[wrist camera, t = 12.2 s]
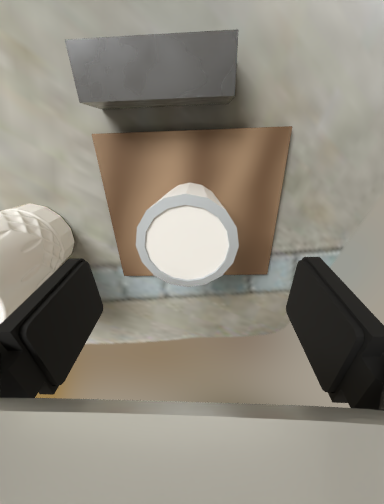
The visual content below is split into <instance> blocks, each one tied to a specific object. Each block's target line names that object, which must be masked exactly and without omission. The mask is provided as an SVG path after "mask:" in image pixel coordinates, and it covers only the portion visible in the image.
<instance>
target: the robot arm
mask: <svg viewBox="0 0 384 504" xmlns="http://www.w3.org/2000/svg"><path fill="white" fill-rule="evenodd" d="M102 311H103V304H102V301H101V298H100V295H99V292H98V289H97V286H96V283H95V280H94V277H93V274H92V271H91V268H90V265H89V263H88V262H86V261H85V260H84V259H68V260H67V261H66V262H65V263H64V264H63V265H62V266H61V267H59V268H58V269H57V270H56V271H55V272H54V273H53V274H52V275H51V276H50V277H49V278H48V279H47V280H46V281H45V282H44V283H43V284H42V285H41V286H40V287H39V288H38V289H37V290H35V291H34V292H33V293H32V294H31V295H30V296H29V297H28V298H27V299H26V300H25V301H24V302H23V303H22V304H21V305H20V306H19V307H18V308H17V309H16V310H15V311H14V312H13V313H11V314H10V315H9V316H8V317H7V318H6V319H5V320H4V321H3V322H2V323H1V324H0V504H384V325H383V324H382V323H381V322H380V321H379V320H378V319H377V318H376V317H375V316H374V315H373V314H372V313H371V312H370V311H369V309H368V308H367V307H366V306H365V305H364V304H363V303H362V302H361V301H360V300H359V299H358V298H357V297H356V295H355V294H354V293H353V292H352V291H351V290H350V289H349V288H348V287H347V286H346V285H345V284H344V283H343V282H342V280H340V278H339V277H338V276H337V275H336V274H335V273H334V272H333V271H332V270H331V269H330V268H329V267H328V266H327V264H326V263H325V262H324V261H323V260H322V259H321V258H320V257H304V258H303V259H302V260H300V261H299V262H298V264H297V267H296V271H295V275H294V279H293V283H292V286H291V290H290V294H289V298H288V301H287V305H286V311H287V315H288V317H289V319H290V321H291V323H292V325H293V328H294V330H295V332H296V334H297V336H298V338H299V340H300V343H301V345H302V347H303V349H304V351H305V353H306V355H307V358H308V360H309V362H310V364H311V366H312V368H313V370H314V373H315V375H316V377H317V379H318V381H319V383H320V385H321V387H322V389H323V390H324V391H325V392H328V393H329V396H330V398H331V400H332V402H337V403H349V405H350V407H351V408H338V407H318V406H295V405H266V404H236V403H235V404H234V403H206V402H205V403H204V402H171V401H138V400H136V401H135V400H98V399H56V398H35V396H36V395H37V393H38V392H39V394H54V393H55V391H56V390H57V388H58V386H59V385H61V384H62V383H63V382H64V381H65V379H66V378H67V376H68V374H69V372H70V370H71V368H72V366H73V365H74V363H75V361H76V359H77V357H78V356H79V354H80V352H81V350H82V348H83V347H84V345H85V343H86V341H87V339H88V337H89V336H90V334H91V332H92V330H93V328H94V327H95V325H96V323H97V321H98V319H99V317H100V316H101V314H102Z"/></svg>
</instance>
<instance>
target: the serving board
mask: <svg viewBox="0 0 384 504" xmlns="http://www.w3.org/2000/svg"><path fill="white" fill-rule="evenodd" d="M291 131H292V126H289V127H263V128H237V129H211V130H185V131H159V132H133V133H107V134H92V138H93V142H94V146H95V151H96V155H97V159H98V164H99V168H100V172H101V177H102V181H103V186H104V190H105V194H106V199H107V203H108V207H109V212H110V216H111V220H112V225H113V229H114V234H115V238H116V242H117V247H118V251H119V255H120V260H121V264H122V268H123V273H124V276H151V275H153V274H152V273H151V272H150V270H149V269H148V268H147V267H146V266H145V265H144V264H143V263H142V261H141V258H140V255H139V253H138V250H137V248H136V234H137V226H138V225H139V223H140V221H141V219H142V217H143V216H144V214H145V212H146V210H148V209H149V208H150V207H151V206H152V205H154V204H155V203H156V202H157V201H158V200H160V199H161V198H162V197H163V196H164V195H166V194H167V193H168V192H169V191H171V190H172V189H173V188H175V187H176V186H178V185H181V184H186V183H195V184H200V185H203V186H204V187H206V188H207V189H209V190H210V191H212V192H213V194H214V195H215V196H216V198H217V199H218V200H219V202H220V203H221V204H222V205H223V207H224V208H225V209H226V211H227V213H228V214H229V216H230V217H231V219H232V221H233V222H234V224H235V225H236V227H237V234H238V243H239V247H238V250H237V253H236V256H235V259H234V262H233V264H232V265H231V266H230V267H229V268H228V269H227V271H226V272H225V273H224V274H223V275H251V274H267V272H268V266H269V260H270V254H271V248H272V243H273V237H274V231H275V225H276V219H277V213H278V207H279V201H280V196H281V190H282V184H283V178H284V172H285V166H286V160H287V154H288V149H289V143H290V137H291Z"/></svg>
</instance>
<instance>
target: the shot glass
mask: <svg viewBox="0 0 384 504" xmlns="http://www.w3.org/2000/svg"><path fill="white" fill-rule="evenodd" d="M238 247H239V243H238V234H237V227H236V225H235V224H234V222H233V221H232V219H231V217H230V216H229V214H228V213H227V211H226V209H225V208H224V207H223V205H222V204H221V203H220V202H219V200H218V199H217V198H216V196H215V195H214V194H213V192H212V191H210V190H209V189H207V188H206V187H204V186H203V185H200V184H195V183H186V184H181V185H178V186H176V187H175V188H173V189H172V190H171V191H169V192H168V193H167V194H166V195H164V196H163V197H162V198H161V199H160V200H158V201H157V202H156V203H155V204H154V205H152V206H151V207H150V208H149V209H148V210H146V212H145V214H144V216H143V217H142V219H141V221H140V223H139V225H138V226H137V234H136V248H137V250H138V253H139V255H140V258H141V261H142V263H143V264H144V265H145V266H146V267H147V268H148V269H149V270H150V272H151V273H152V274H153V275H154V276H156V277H158V278H160V279H162V280H164V281H165V282H167V283H169V284H173V285H179V286H185V287H191V286H198V285H204V284H207V283H209V282H211V281H213V280H215V279H217V278H219V277H221V276H222V275H223V274H224V273H225V272H226V271H227V269H228V268H229V267H230V266H231V265H232V264H233V262H234V259H235V256H236V253H237V250H238Z"/></svg>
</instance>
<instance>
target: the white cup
mask: <svg viewBox="0 0 384 504" xmlns="http://www.w3.org/2000/svg"><path fill="white" fill-rule="evenodd" d="M74 243H75V241H74V238H73V234H72V231H71V228H70V227H69V226H68V224H67V223H66V222H65V221H64V219H63V218H62V217H61V216H60V215H58V214H57V213H55V212H54V211H52V210H51V209H49V208H47V207H45V206H40V205H36V204H32V203H29V204H25V205H20V206H16V207H13V208H10V209H7V210H0V324H1V323H2V322H3V321H4V320H5V319H6V318H7V317H8V316H9V315H10V314H11V313H13V312H14V311H15V310H16V309H17V308H18V307H19V306H20V305H21V304H22V303H23V302H24V301H25V300H26V299H27V298H28V297H29V296H30V295H31V294H32V293H33V292H34V291H35V290H37V289H38V288H39V287H40V286H41V285H42V284H43V283H44V282H45V281H46V280H47V279H48V278H49V277H50V276H51V275H52V274H53V273H54V272H55V271H56V270H57V269H58V267H59V266H60V265H61V264H62V263H63V262H64V261H65V260H66V259H67V258H68V257H69V256H70V255H71V254H72V251H73V247H74Z"/></svg>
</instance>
